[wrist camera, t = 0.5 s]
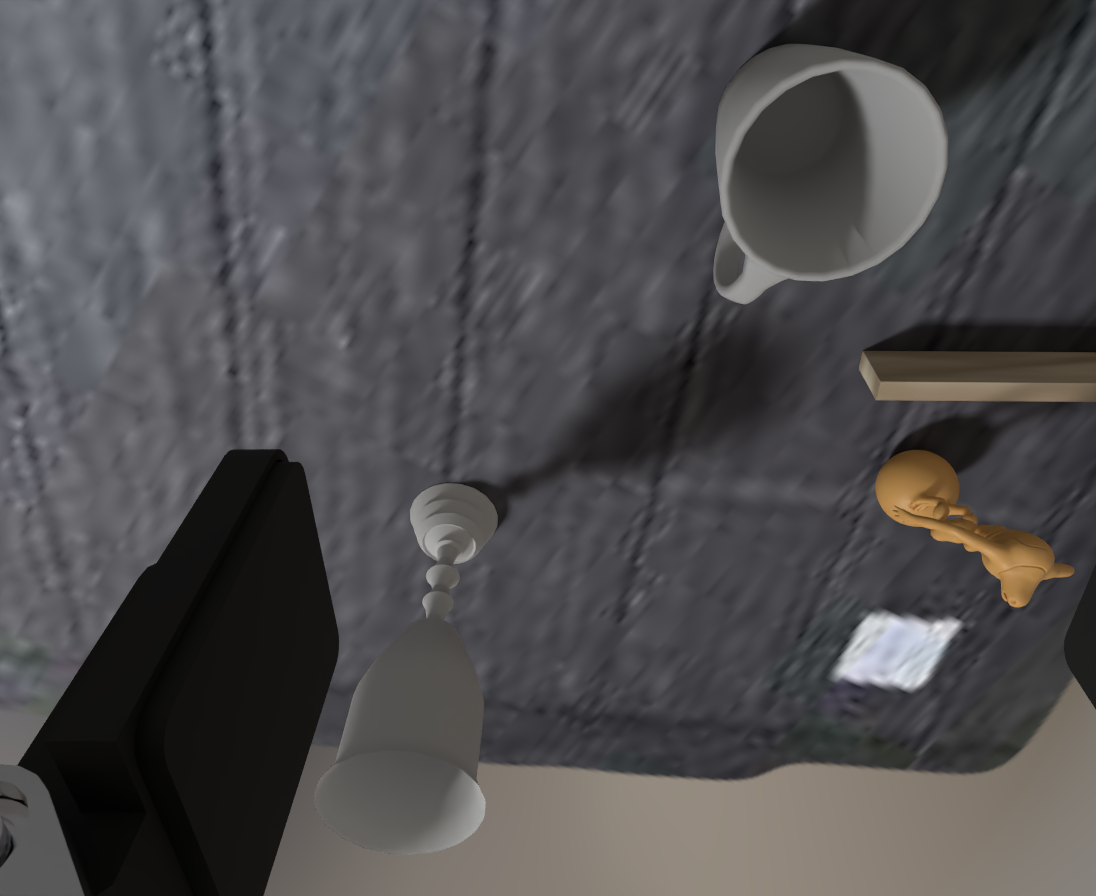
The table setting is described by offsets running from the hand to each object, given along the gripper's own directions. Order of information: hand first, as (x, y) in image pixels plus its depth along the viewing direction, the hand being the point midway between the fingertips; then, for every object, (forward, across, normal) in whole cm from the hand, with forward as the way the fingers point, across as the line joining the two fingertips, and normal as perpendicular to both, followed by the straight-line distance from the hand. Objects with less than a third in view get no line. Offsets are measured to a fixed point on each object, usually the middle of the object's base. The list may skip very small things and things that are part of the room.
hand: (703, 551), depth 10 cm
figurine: (+31, -16, +18) cm, 40 cm away
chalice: (+31, +8, +23) cm, 40 cm away
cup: (+31, -7, +2) cm, 31 cm away
